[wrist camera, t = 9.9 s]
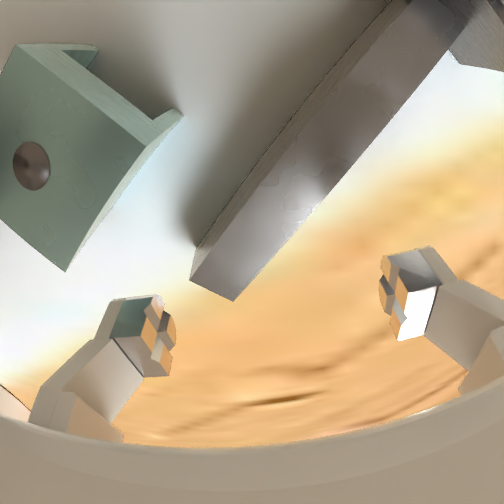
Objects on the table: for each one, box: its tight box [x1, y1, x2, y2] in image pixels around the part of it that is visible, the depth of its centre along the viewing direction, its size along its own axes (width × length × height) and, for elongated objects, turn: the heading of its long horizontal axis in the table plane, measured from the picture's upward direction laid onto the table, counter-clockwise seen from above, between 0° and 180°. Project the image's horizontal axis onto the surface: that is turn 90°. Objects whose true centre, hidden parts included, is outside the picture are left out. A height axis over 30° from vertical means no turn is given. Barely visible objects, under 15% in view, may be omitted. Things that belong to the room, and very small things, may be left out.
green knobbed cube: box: [0, 43, 183, 272], centre depth 8 cm, size 5×5×5 cm
